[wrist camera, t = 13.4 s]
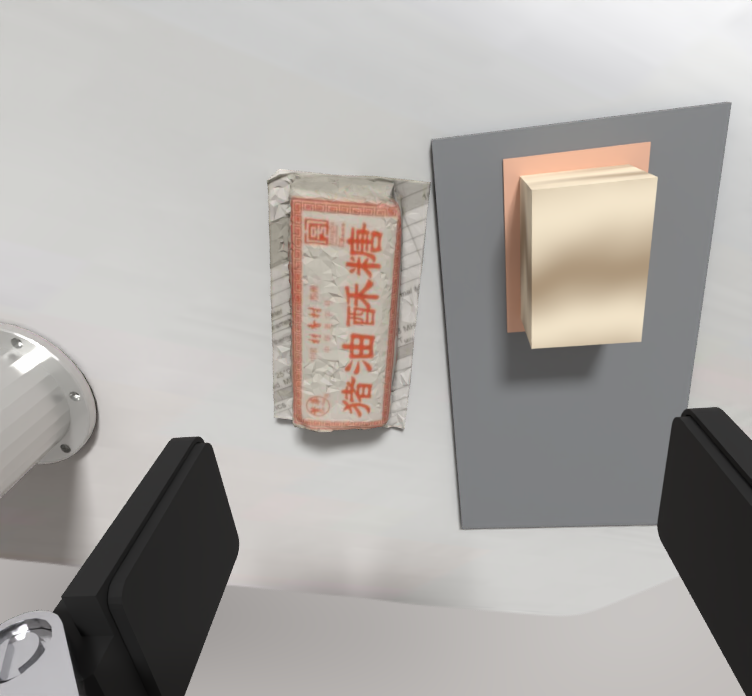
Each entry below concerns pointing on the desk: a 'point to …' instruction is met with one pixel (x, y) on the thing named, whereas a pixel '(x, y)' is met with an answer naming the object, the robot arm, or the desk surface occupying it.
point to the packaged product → (344, 296)
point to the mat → (572, 363)
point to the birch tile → (585, 255)
